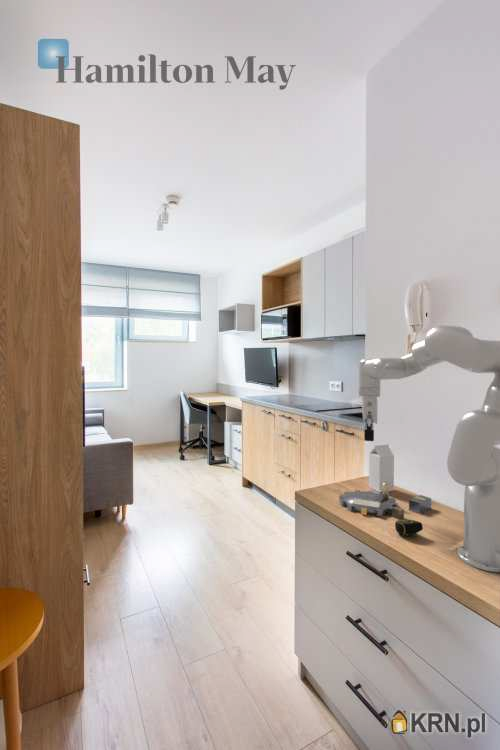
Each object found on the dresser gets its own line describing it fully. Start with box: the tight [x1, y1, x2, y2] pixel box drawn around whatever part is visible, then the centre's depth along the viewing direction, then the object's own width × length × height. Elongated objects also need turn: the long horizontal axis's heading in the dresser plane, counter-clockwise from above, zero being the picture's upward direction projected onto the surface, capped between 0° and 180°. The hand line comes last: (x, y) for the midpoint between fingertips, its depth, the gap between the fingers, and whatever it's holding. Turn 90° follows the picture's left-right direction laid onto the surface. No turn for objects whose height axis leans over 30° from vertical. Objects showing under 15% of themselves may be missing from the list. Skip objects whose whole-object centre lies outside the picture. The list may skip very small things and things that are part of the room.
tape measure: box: [394, 518, 424, 536], centre depth 111 cm, size 7×7×4 cm
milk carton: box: [368, 443, 395, 494], centre depth 152 cm, size 7×7×19 cm
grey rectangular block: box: [408, 494, 432, 514], centre depth 131 cm, size 4×8×4 cm, turn 126°
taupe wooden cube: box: [391, 506, 405, 520], centre depth 124 cm, size 3×2×3 cm
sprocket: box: [338, 482, 399, 517], centre depth 134 cm, size 21×21×8 cm
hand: (369, 438), depth 133 cm, fingers open, 9 cm apart
